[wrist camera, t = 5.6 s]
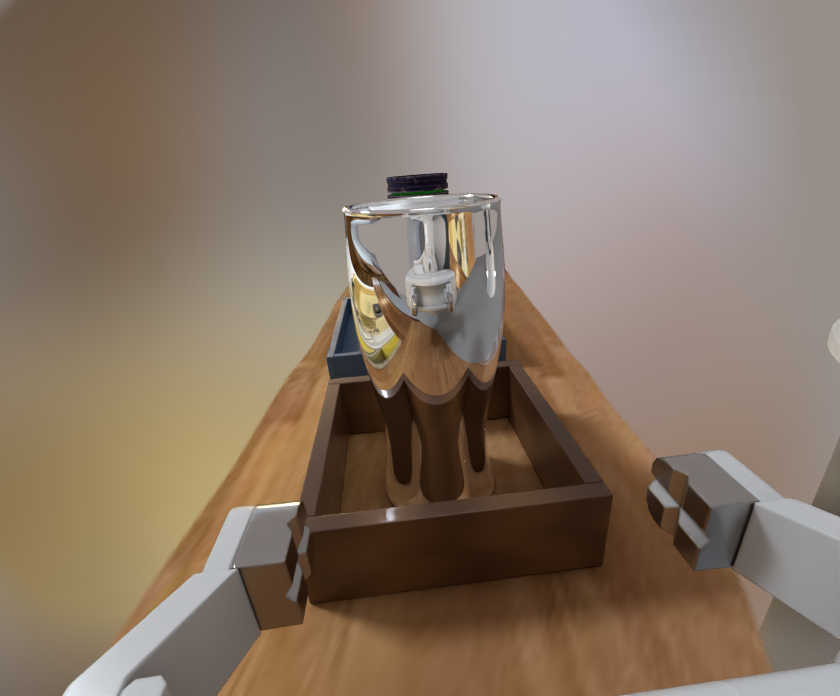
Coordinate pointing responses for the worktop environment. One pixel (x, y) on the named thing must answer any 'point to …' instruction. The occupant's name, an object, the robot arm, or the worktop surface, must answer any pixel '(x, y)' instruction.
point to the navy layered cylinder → (417, 185)
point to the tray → (356, 347)
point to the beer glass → (430, 335)
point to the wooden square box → (452, 506)
